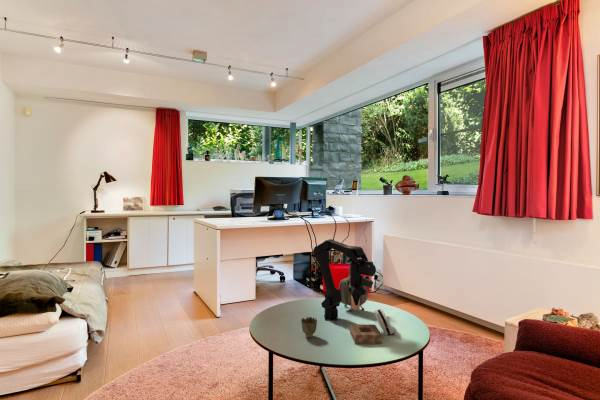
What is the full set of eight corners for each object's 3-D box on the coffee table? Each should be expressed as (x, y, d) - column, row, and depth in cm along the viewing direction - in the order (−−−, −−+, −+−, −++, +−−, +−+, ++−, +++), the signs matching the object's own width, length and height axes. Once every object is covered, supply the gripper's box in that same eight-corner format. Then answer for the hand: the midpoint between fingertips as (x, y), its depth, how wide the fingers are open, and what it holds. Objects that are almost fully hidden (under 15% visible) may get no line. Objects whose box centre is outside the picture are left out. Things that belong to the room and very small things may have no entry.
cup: (305, 341, 154) (305, 323, 154) (298, 335, 161) (298, 318, 161) (320, 338, 158) (320, 321, 158) (312, 332, 164) (312, 315, 164)
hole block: (355, 344, 152) (355, 335, 152) (350, 332, 164) (350, 324, 164) (381, 343, 153) (381, 334, 153) (374, 332, 165) (375, 324, 165)
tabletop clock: (367, 310, 196) (367, 266, 195) (361, 315, 188) (361, 269, 187) (343, 305, 203) (344, 263, 203) (337, 310, 196) (337, 266, 195)
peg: (352, 309, 167) (352, 293, 167) (350, 306, 171) (350, 290, 171) (360, 309, 168) (360, 293, 167) (358, 306, 172) (358, 290, 171)
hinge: (396, 335, 162) (389, 315, 162) (386, 338, 162) (379, 319, 162) (387, 322, 179) (381, 304, 178) (378, 324, 179) (372, 307, 178)
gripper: (376, 277, 160) (376, 310, 160) (367, 268, 179) (367, 298, 179) (353, 277, 160) (353, 310, 160) (346, 268, 178) (345, 298, 179)
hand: (355, 304), depth 169 cm, fingers closed on peg, 4 cm apart
